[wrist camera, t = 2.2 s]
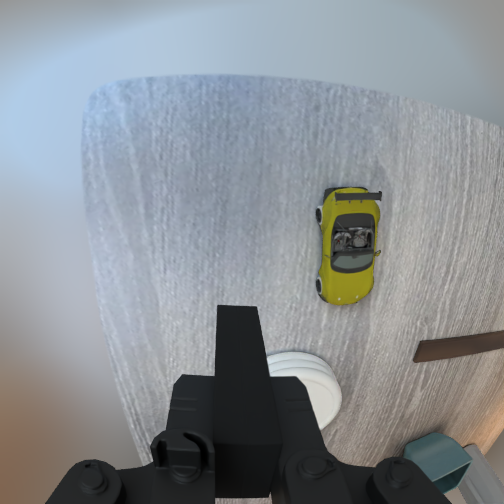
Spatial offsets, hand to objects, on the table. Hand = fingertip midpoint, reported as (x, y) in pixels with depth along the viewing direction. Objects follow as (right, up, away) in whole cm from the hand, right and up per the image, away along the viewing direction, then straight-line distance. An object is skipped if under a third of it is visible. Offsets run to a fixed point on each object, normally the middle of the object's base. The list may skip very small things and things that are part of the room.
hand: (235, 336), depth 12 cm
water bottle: (+39, -34, +28) cm, 59 cm away
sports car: (+8, +4, +13) cm, 16 cm away
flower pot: (+26, -26, +24) cm, 44 cm away
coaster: (+4, -10, +18) cm, 21 cm away
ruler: (+29, -8, +19) cm, 36 cm away
